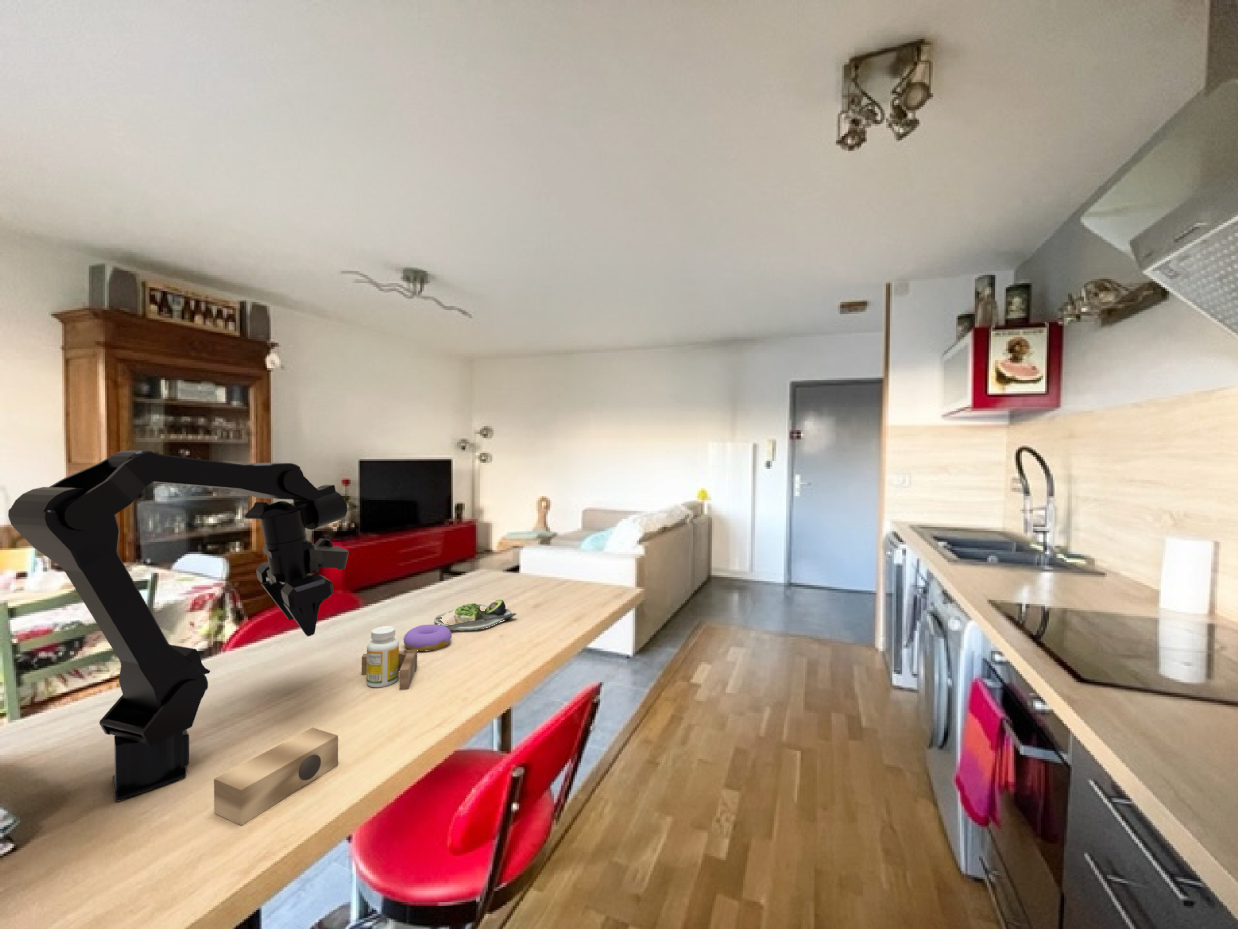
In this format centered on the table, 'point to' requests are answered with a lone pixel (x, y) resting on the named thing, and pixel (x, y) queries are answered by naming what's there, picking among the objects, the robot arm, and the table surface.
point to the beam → (274, 775)
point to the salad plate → (477, 616)
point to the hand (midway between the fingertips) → (301, 626)
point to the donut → (427, 637)
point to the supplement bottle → (382, 657)
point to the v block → (401, 666)
